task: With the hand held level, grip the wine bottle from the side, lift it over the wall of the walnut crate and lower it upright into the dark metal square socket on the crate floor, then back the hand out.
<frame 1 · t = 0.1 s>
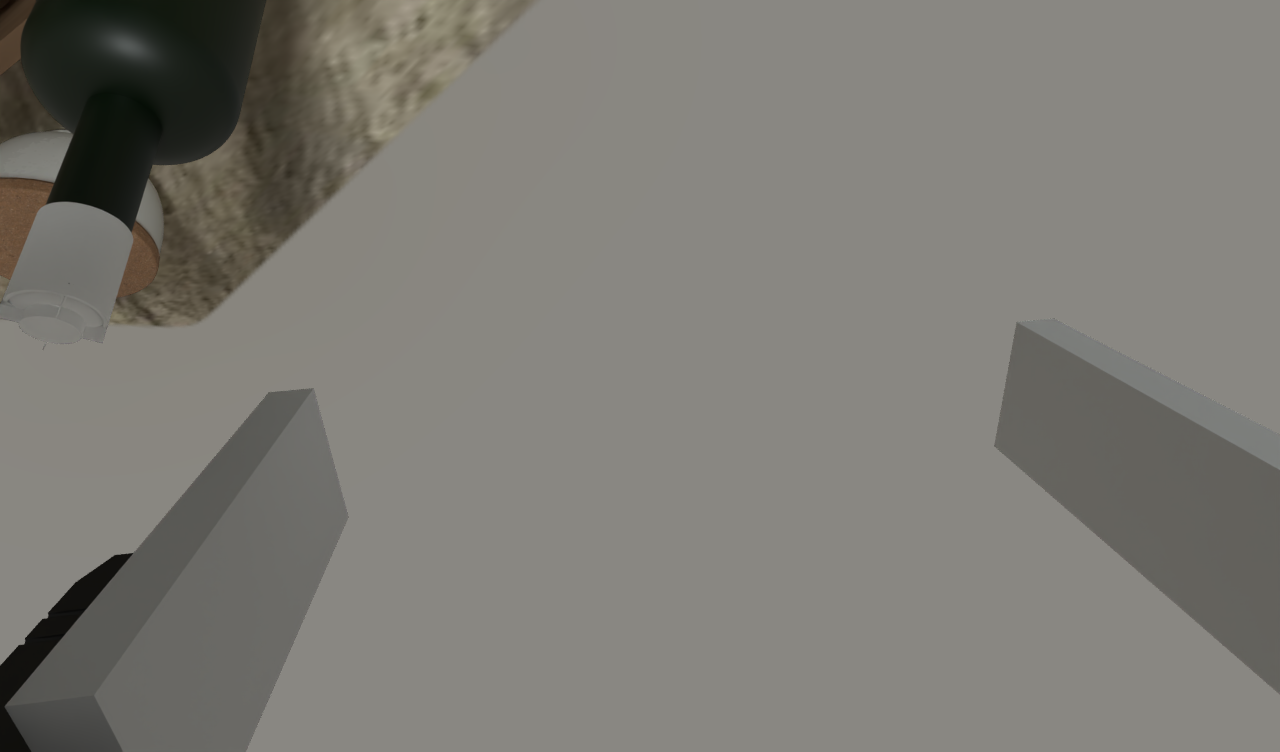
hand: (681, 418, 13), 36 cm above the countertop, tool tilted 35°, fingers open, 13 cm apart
lidded jar: (90, 162, 49), on the countertop
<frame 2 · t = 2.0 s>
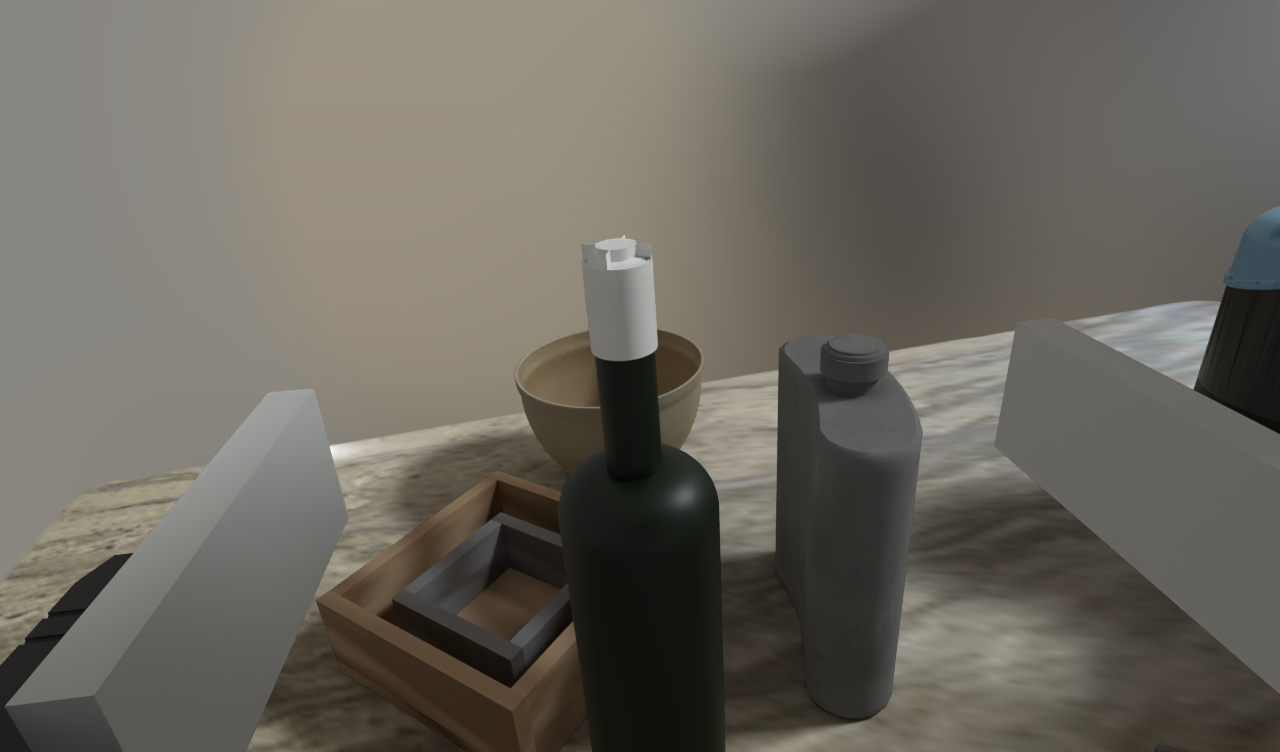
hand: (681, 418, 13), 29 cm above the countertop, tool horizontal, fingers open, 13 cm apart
flask: (832, 624, 47), on the countertop
planter bowl: (619, 469, 65), on the countertop
crate: (516, 633, 47), on the countertop
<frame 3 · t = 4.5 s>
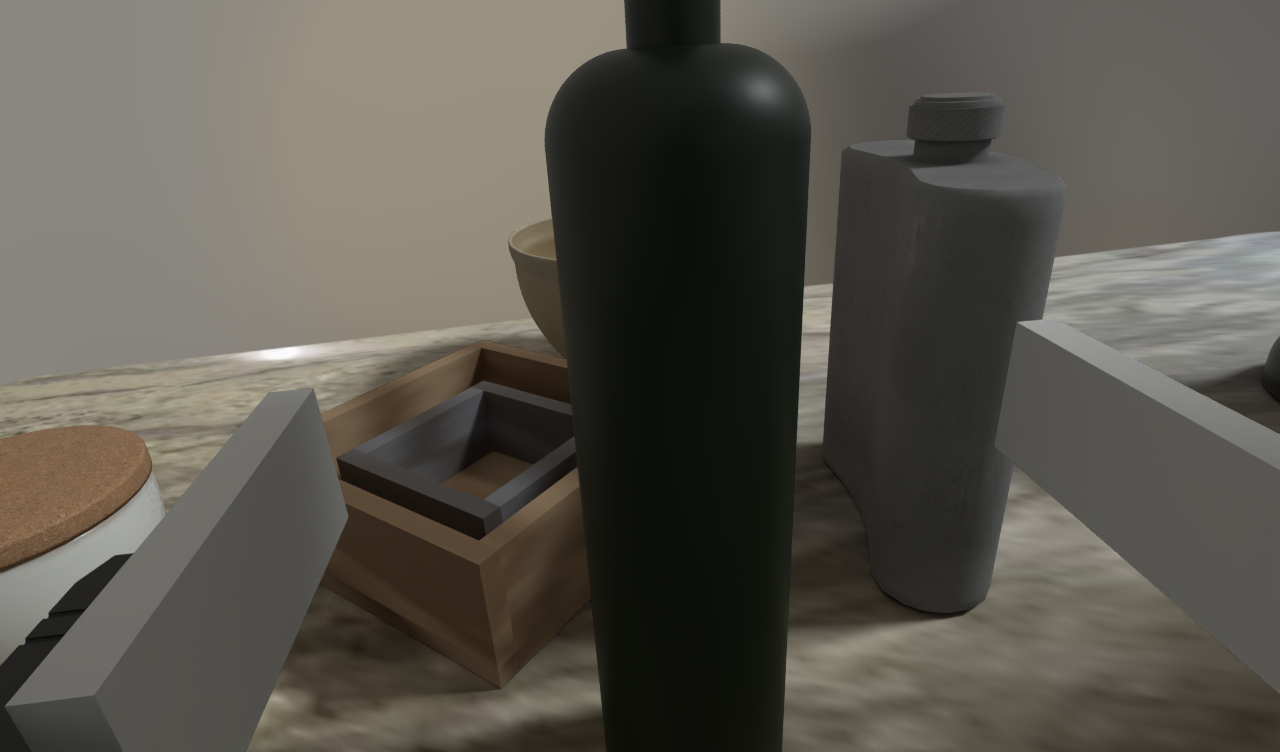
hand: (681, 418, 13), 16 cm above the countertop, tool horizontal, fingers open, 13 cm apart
flask: (900, 515, 36), on the countertop
lidded jar: (64, 638, 31), on the countertop
planter bowl: (629, 368, 55), on the countertop
crate: (496, 519, 37), on the countertop
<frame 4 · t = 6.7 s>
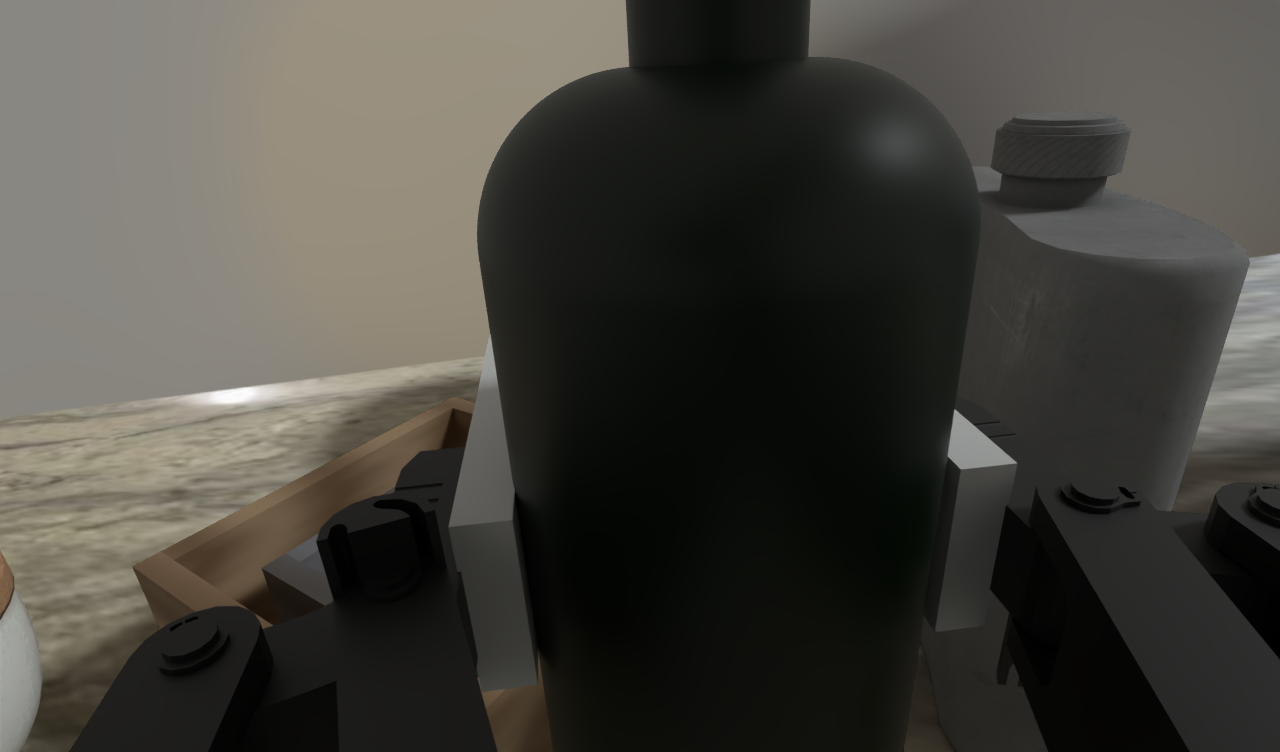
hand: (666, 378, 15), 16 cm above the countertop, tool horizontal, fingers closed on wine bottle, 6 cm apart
flask: (964, 627, 30), on the countertop
crate: (467, 631, 31), on the countertop
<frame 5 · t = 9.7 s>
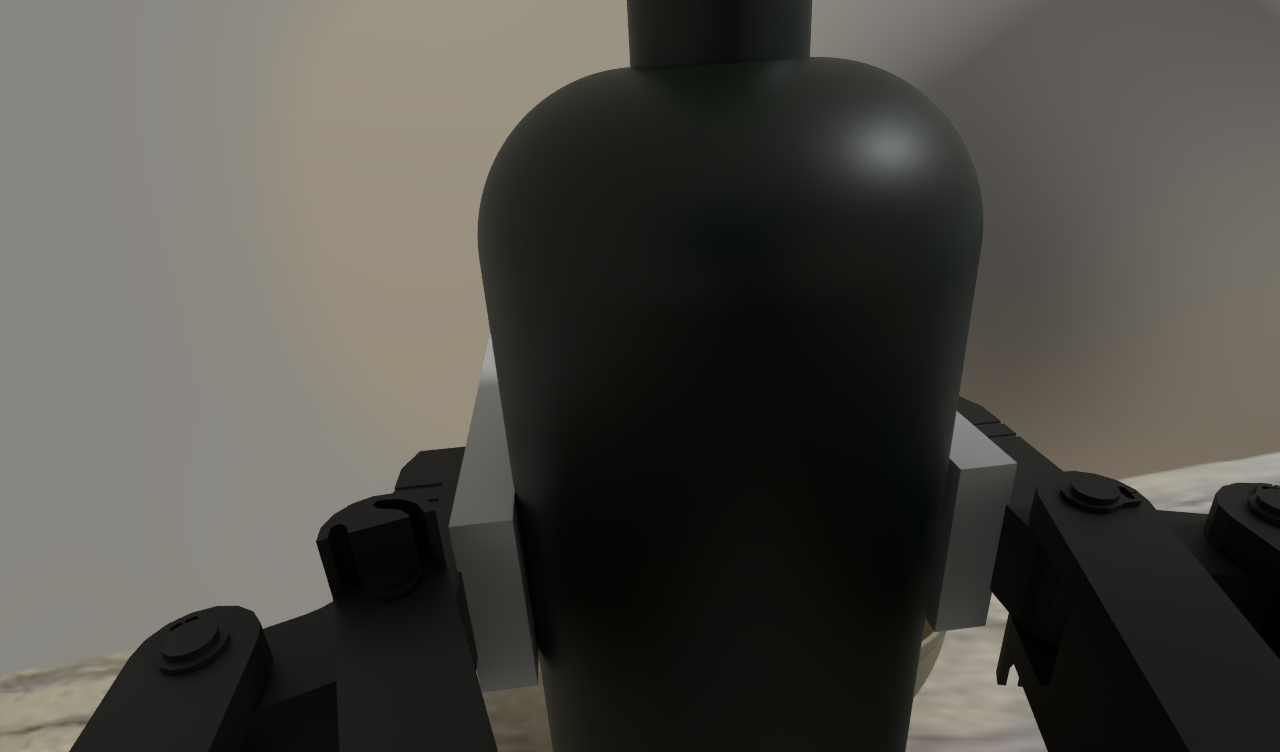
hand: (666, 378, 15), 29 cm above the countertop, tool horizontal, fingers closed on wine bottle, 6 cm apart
planter bowl: (788, 697, 42), on the countertop
when the fingers open (18 cm above the countertop, at t = 12.8 s): wine bottle drops 1 cm, resting on crate.
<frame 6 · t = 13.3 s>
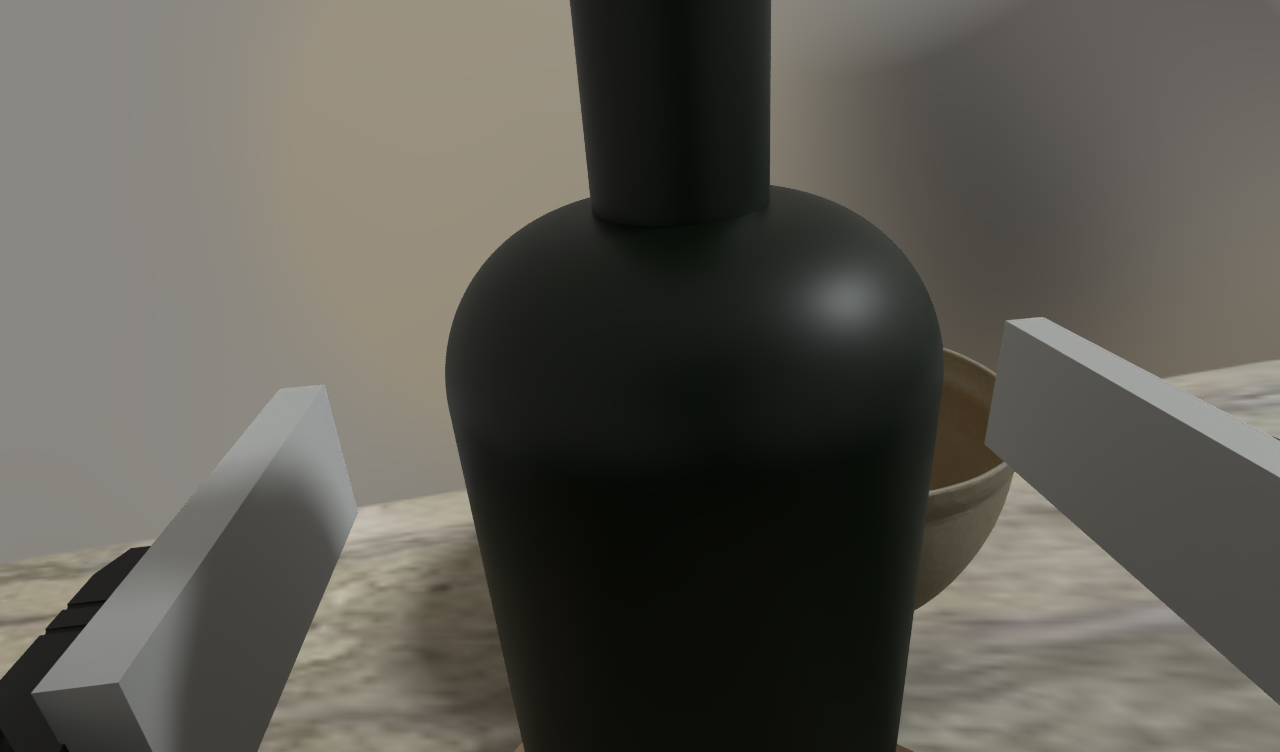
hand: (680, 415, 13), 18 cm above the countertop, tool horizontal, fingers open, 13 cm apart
planter bowl: (813, 586, 36), on the countertop
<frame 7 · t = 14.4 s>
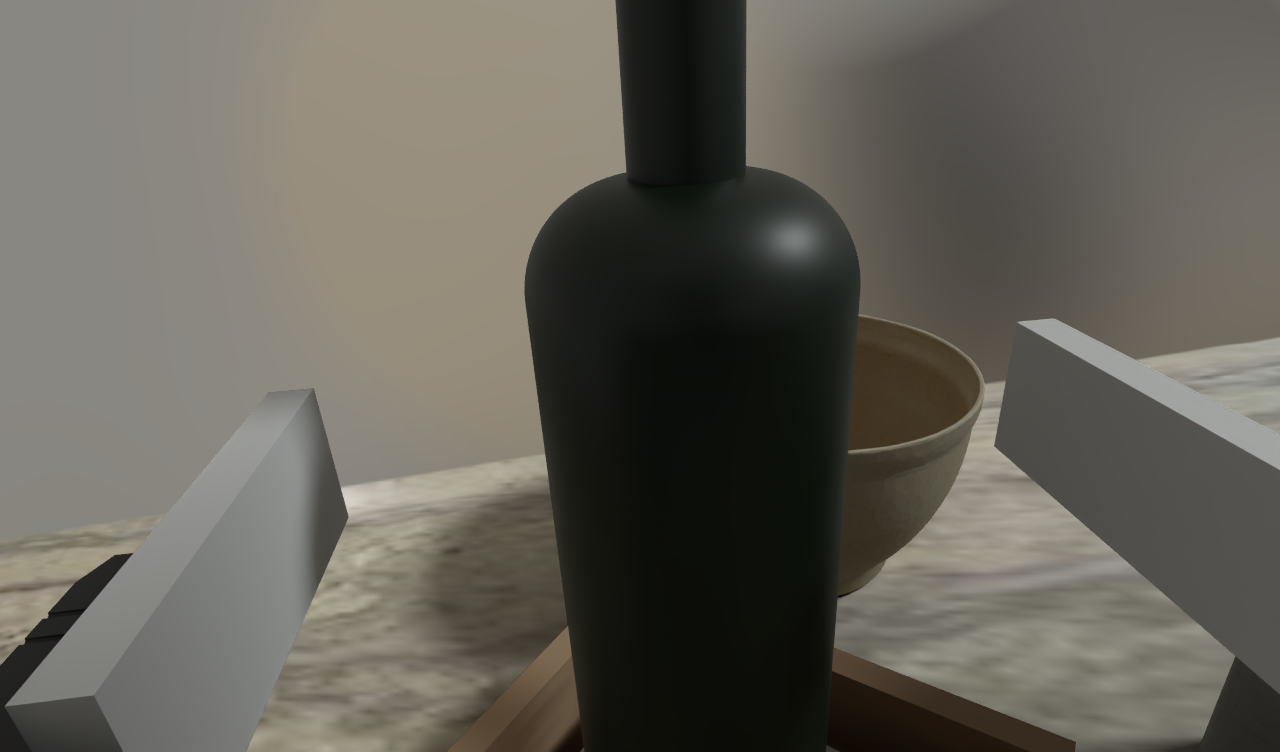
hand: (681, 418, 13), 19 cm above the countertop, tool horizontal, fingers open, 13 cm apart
planter bowl: (795, 546, 39), on the countertop
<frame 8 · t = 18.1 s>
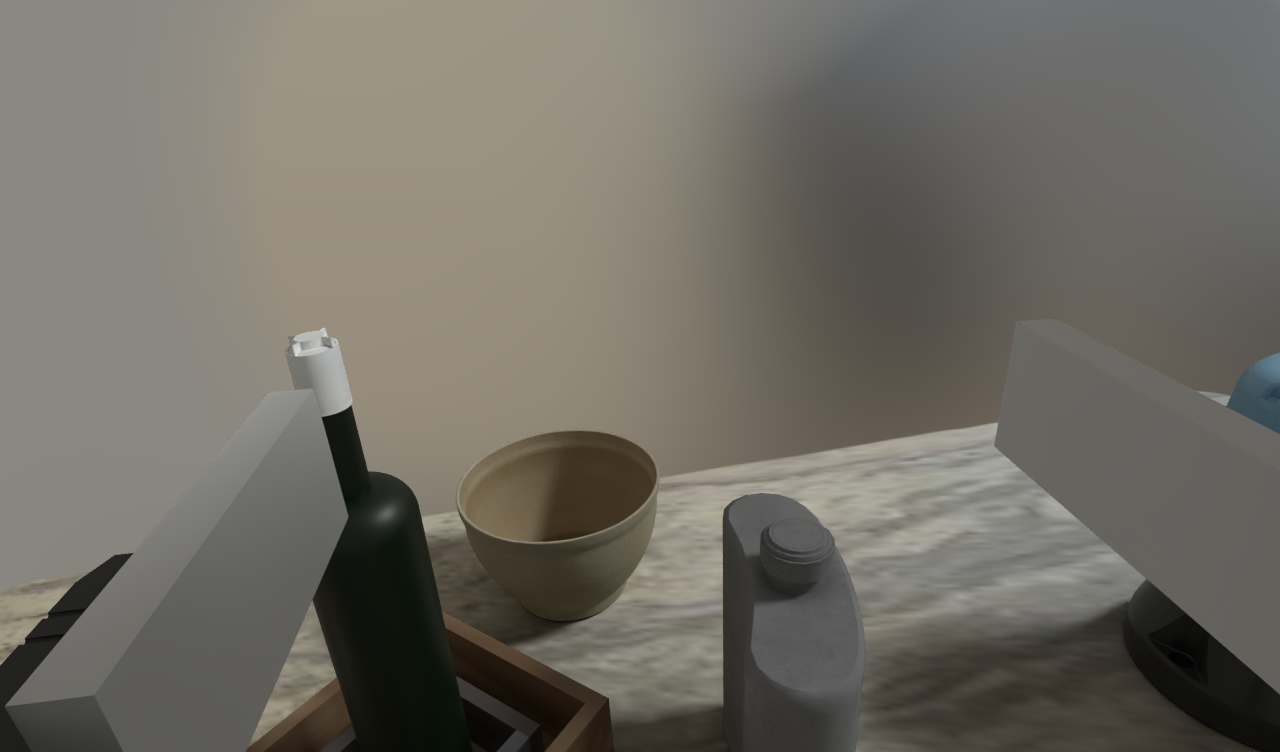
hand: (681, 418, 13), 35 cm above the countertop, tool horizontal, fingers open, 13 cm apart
planter bowl: (571, 586, 61), on the countertop
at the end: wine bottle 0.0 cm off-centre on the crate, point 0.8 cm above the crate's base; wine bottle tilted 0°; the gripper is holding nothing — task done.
